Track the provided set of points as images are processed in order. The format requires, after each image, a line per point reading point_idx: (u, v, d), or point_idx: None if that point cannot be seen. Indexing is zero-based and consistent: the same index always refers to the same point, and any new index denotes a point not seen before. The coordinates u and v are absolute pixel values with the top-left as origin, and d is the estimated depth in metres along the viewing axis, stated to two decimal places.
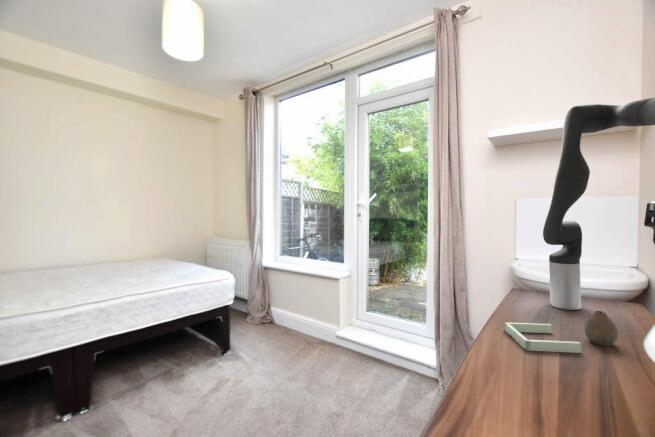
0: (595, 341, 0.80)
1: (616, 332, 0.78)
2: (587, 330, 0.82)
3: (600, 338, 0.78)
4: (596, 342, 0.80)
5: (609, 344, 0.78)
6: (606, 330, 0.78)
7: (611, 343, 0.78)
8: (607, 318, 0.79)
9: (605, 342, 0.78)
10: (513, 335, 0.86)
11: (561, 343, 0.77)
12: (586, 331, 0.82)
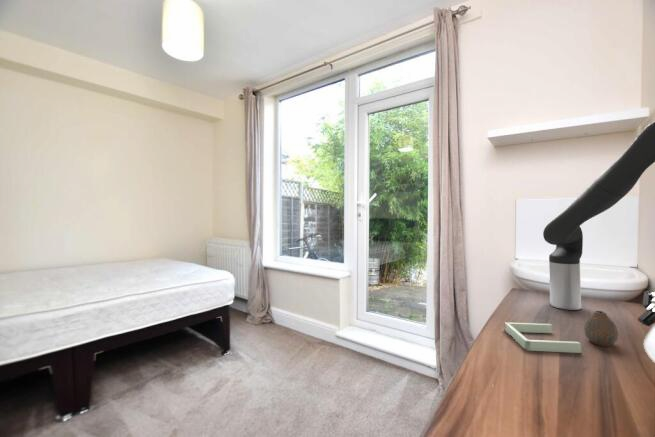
0: (595, 341, 0.80)
1: (616, 332, 0.78)
2: (587, 330, 0.82)
3: (600, 338, 0.78)
4: (596, 342, 0.80)
5: (609, 344, 0.78)
6: (606, 330, 0.78)
7: (611, 343, 0.78)
8: (607, 318, 0.79)
9: (605, 342, 0.78)
10: (513, 335, 0.86)
11: (561, 343, 0.77)
12: (586, 331, 0.82)
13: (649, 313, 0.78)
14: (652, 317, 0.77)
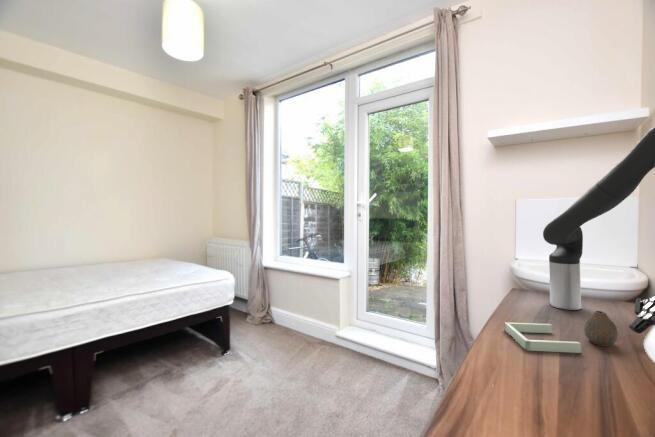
0: (595, 341, 0.80)
1: (616, 332, 0.78)
2: (587, 330, 0.82)
3: (600, 338, 0.78)
4: (596, 342, 0.80)
5: (609, 344, 0.78)
6: (606, 330, 0.78)
7: (611, 343, 0.78)
8: (607, 318, 0.79)
9: (605, 342, 0.78)
10: (513, 335, 0.86)
11: (561, 343, 0.77)
12: (586, 331, 0.82)
13: (640, 321, 0.79)
14: (643, 325, 0.78)
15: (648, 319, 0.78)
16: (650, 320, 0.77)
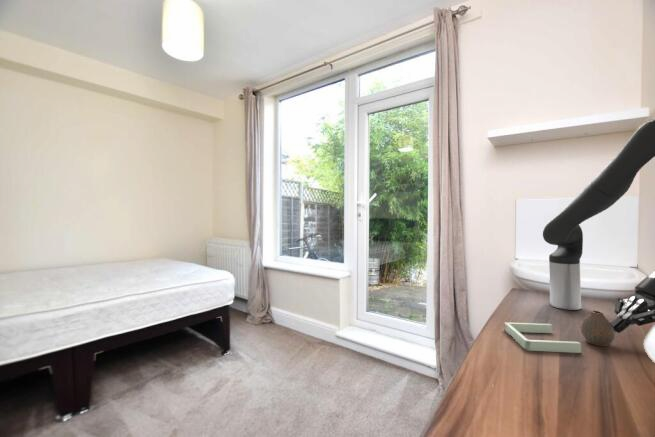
0: (592, 341, 0.80)
1: (612, 332, 0.78)
2: (583, 330, 0.82)
3: (597, 338, 0.79)
4: (592, 342, 0.80)
5: (606, 344, 0.78)
6: (603, 330, 0.78)
7: (608, 343, 0.78)
8: (604, 318, 0.79)
9: (602, 342, 0.78)
10: (513, 335, 0.86)
11: (561, 343, 0.77)
12: (583, 331, 0.82)
13: (619, 320, 0.80)
14: (622, 324, 0.79)
15: (627, 318, 0.78)
16: (629, 319, 0.78)
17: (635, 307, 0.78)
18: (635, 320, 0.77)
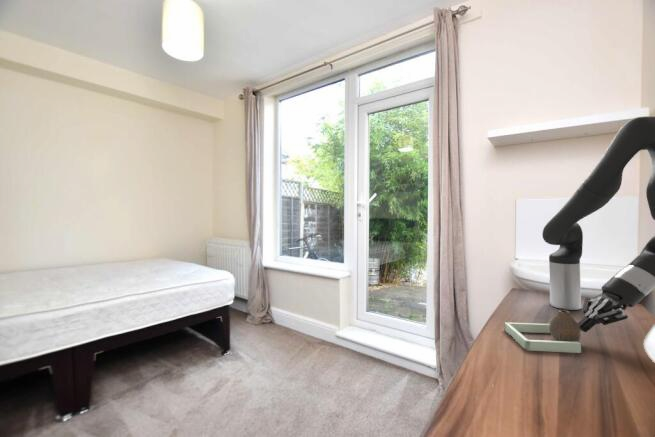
0: (558, 340, 0.81)
1: (578, 331, 0.79)
2: (551, 329, 0.83)
3: (563, 337, 0.80)
4: None
5: None
6: (569, 329, 0.79)
7: None
8: (570, 317, 0.81)
9: None
10: (513, 335, 0.86)
11: (561, 343, 0.77)
12: (550, 330, 0.83)
13: (586, 320, 0.81)
14: (588, 323, 0.80)
15: (593, 318, 0.80)
16: (595, 319, 0.79)
17: (601, 306, 0.79)
18: (600, 319, 0.78)
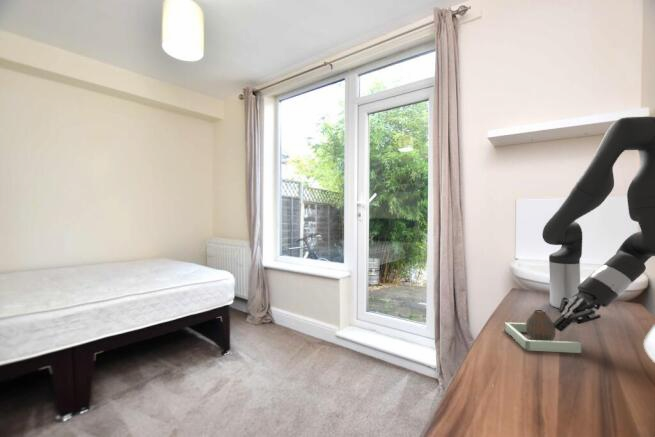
0: (534, 338, 0.83)
1: (552, 330, 0.80)
2: (527, 328, 0.84)
3: (538, 336, 0.81)
4: None
5: None
6: (543, 328, 0.81)
7: None
8: (545, 316, 0.82)
9: (542, 339, 0.81)
10: (513, 335, 0.86)
11: (561, 343, 0.77)
12: (526, 329, 0.84)
13: (561, 319, 0.82)
14: (563, 323, 0.81)
15: (568, 317, 0.81)
16: (569, 318, 0.80)
17: (575, 306, 0.81)
18: (574, 319, 0.79)
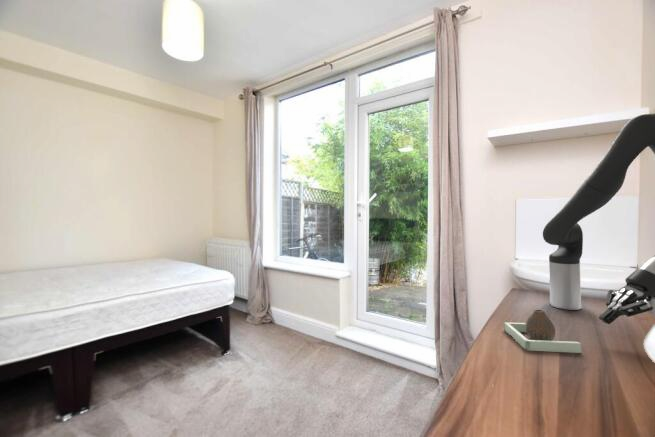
0: (533, 339, 0.83)
1: (552, 330, 0.80)
2: (527, 328, 0.84)
3: (537, 336, 0.81)
4: None
5: None
6: (542, 328, 0.81)
7: None
8: (545, 316, 0.82)
9: (542, 339, 0.81)
10: (513, 335, 0.86)
11: (561, 343, 0.77)
12: (526, 329, 0.84)
13: (609, 312, 0.80)
14: (612, 315, 0.79)
15: (616, 310, 0.79)
16: (618, 311, 0.79)
17: (624, 298, 0.79)
18: (624, 311, 0.77)
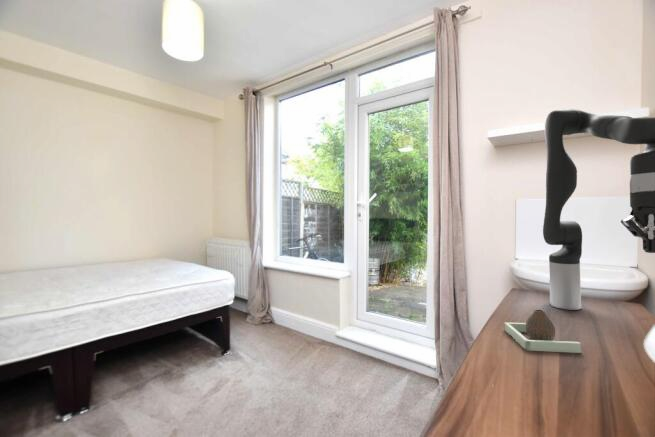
0: (533, 339, 0.83)
1: (552, 330, 0.80)
2: (527, 328, 0.84)
3: (537, 336, 0.81)
4: None
5: None
6: (543, 328, 0.81)
7: None
8: (545, 316, 0.82)
9: (542, 339, 0.81)
10: (513, 335, 0.86)
11: (561, 343, 0.77)
12: (526, 329, 0.84)
13: None
14: (643, 244, 0.81)
15: None
16: None
17: None
18: (635, 235, 0.81)
